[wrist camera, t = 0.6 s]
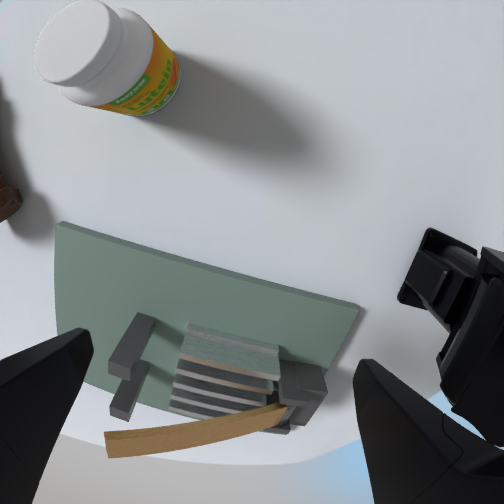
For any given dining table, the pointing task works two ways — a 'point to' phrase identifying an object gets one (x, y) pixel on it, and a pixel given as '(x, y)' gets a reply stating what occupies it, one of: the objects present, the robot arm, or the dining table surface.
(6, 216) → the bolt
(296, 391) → the block
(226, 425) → the brown long flat bar
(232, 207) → the dining table surface
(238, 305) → the board
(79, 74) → the supplement bottle
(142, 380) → the lug fork
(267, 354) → the heatsink
